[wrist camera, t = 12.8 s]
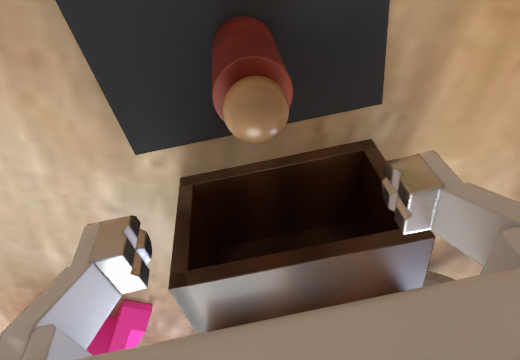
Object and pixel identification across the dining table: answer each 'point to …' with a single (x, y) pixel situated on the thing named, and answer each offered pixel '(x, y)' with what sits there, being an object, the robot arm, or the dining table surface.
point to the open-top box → (290, 238)
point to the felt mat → (200, 59)
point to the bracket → (122, 328)
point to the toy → (250, 80)
